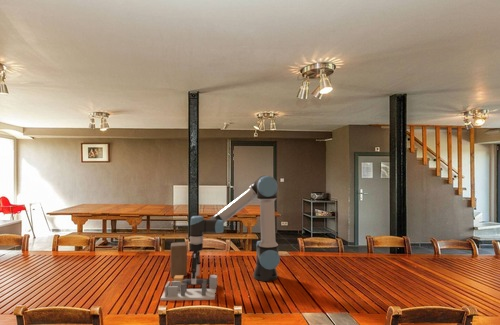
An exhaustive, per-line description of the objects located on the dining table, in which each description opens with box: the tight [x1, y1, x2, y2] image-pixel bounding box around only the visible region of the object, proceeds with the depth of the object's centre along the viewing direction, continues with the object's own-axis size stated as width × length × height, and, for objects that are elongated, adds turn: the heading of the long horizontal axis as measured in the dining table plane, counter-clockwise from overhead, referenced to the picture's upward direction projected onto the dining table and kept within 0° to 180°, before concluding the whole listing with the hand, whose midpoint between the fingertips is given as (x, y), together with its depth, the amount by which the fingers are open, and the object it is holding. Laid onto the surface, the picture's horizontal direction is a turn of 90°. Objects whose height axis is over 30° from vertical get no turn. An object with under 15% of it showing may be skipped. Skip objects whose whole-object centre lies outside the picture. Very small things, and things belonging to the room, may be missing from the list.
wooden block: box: [170, 241, 188, 278], centre depth 199 cm, size 10×10×20 cm
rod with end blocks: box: [173, 274, 218, 289], centre depth 179 cm, size 24×5×6 cm, turn 92°
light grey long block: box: [160, 280, 217, 301], centre depth 167 cm, size 28×12×7 cm, turn 92°
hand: (195, 279), depth 179 cm, fingers open, 13 cm apart
